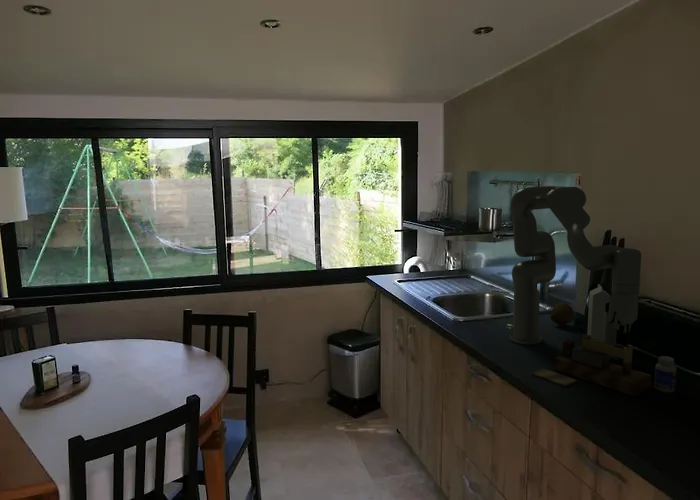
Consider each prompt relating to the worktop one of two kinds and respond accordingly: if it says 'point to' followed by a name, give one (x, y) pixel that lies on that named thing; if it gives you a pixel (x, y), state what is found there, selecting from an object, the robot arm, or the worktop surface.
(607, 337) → the travel mug
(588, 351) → the black rectangular block
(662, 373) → the pill bottle
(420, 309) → the worktop surface
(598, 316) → the milk
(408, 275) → the worktop surface
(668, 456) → the worktop surface
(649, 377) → the plane body
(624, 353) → the lever
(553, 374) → the cork pad
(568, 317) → the natural sponge
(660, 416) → the worktop surface
